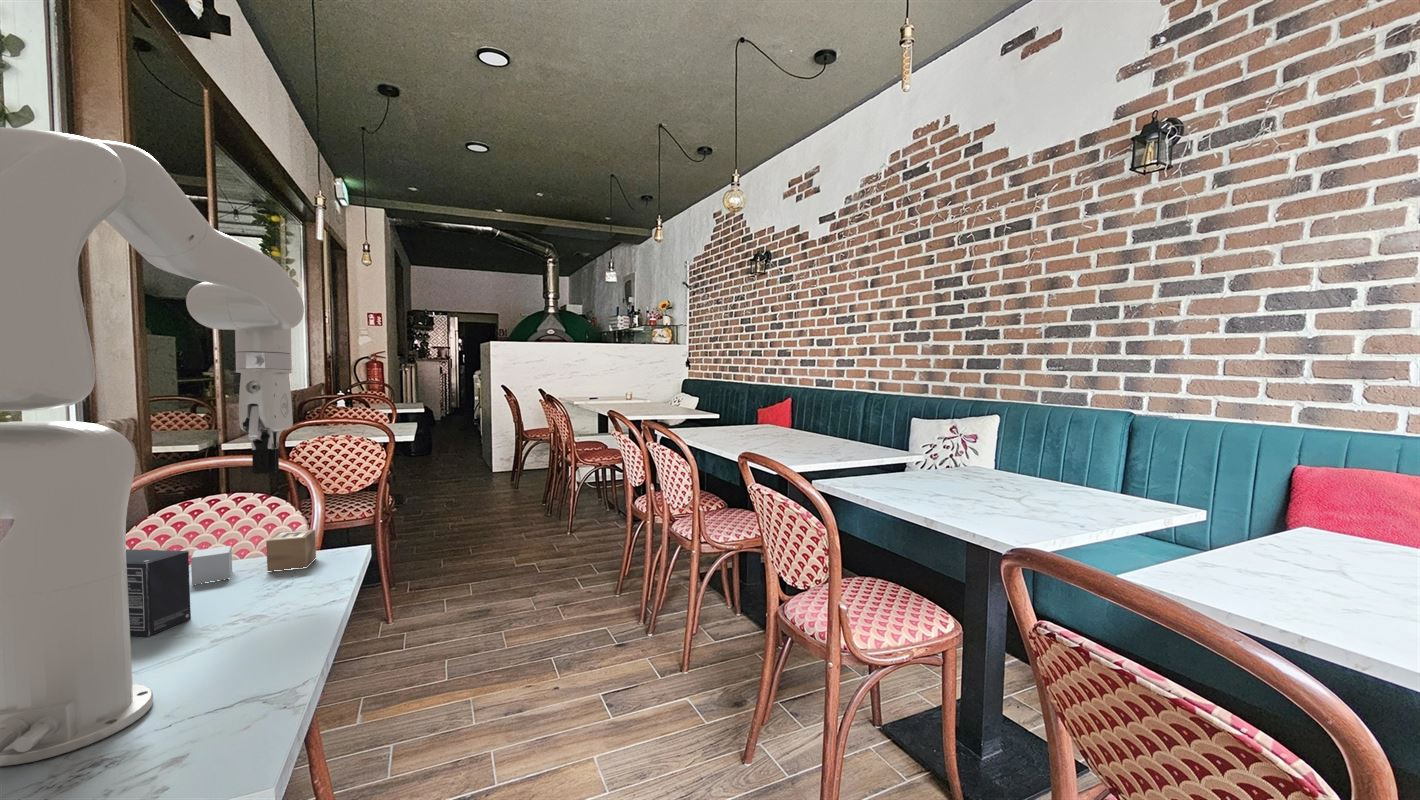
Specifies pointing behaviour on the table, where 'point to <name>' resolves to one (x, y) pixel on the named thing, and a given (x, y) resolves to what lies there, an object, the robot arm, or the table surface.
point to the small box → (157, 590)
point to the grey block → (211, 564)
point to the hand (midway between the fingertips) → (265, 472)
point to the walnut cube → (291, 550)
